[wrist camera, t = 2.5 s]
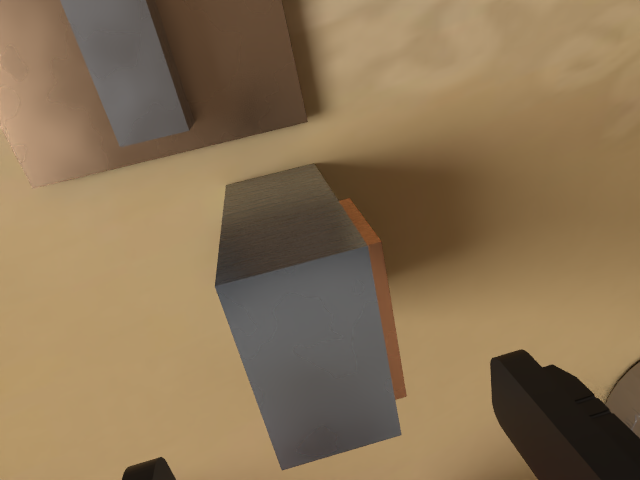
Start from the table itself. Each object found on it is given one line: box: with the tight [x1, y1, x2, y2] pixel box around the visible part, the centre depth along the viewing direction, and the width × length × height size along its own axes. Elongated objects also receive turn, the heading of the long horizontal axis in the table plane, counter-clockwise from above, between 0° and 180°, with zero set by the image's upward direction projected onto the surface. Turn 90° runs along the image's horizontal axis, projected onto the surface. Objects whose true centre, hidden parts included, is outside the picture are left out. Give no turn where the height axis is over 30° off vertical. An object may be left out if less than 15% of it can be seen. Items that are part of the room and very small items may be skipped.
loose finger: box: [215, 164, 406, 470], centre depth 17 cm, size 7×5×9 cm, turn 12°
